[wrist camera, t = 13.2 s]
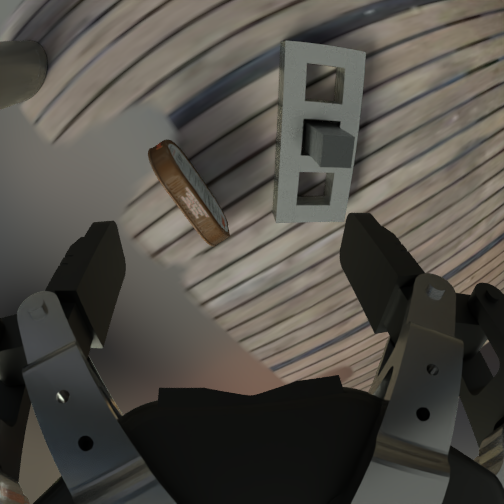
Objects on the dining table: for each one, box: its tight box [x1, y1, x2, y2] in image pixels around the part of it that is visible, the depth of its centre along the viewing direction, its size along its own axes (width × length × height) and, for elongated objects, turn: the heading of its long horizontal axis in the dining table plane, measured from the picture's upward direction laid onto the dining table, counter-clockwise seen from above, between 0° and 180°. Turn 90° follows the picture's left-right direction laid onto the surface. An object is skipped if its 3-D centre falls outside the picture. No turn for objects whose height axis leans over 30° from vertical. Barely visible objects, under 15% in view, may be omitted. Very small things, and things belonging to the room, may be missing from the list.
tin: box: [148, 140, 230, 246], centre depth 37 cm, size 15×3×8 cm, turn 28°
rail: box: [272, 41, 366, 223], centre depth 36 cm, size 10×24×3 cm, turn 178°
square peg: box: [302, 119, 355, 168], centre depth 34 cm, size 4×4×9 cm
